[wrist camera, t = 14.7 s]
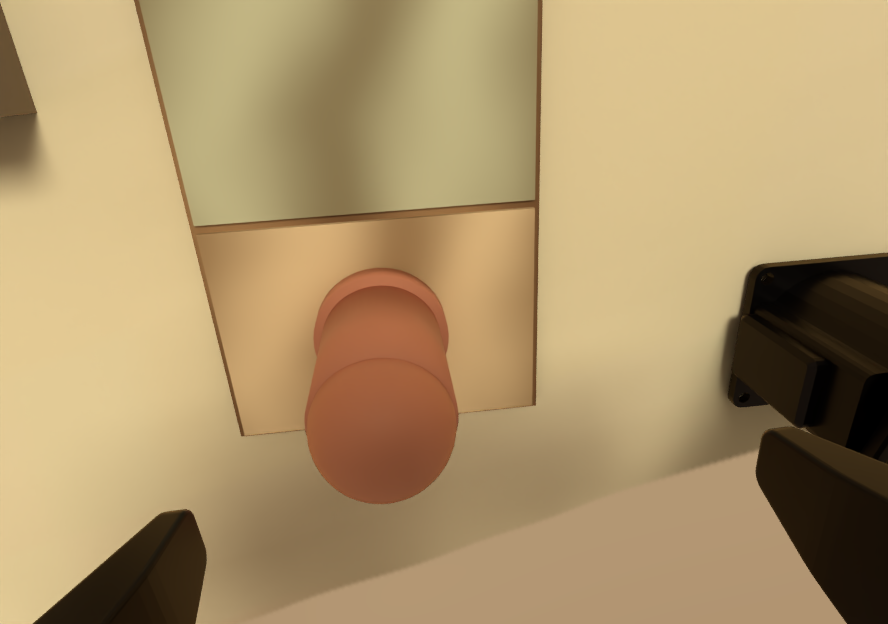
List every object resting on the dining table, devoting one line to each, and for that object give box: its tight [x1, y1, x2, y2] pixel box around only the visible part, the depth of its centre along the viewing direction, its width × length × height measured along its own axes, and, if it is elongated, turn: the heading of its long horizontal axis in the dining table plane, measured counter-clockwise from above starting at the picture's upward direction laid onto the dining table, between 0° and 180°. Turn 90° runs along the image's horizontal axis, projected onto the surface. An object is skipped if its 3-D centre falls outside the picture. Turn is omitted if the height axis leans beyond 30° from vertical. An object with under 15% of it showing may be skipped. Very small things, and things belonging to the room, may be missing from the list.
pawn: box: [304, 268, 458, 504], centre depth 17 cm, size 5×5×8 cm
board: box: [134, 0, 542, 436], centre depth 18 cm, size 12×26×1 cm, turn 3°
